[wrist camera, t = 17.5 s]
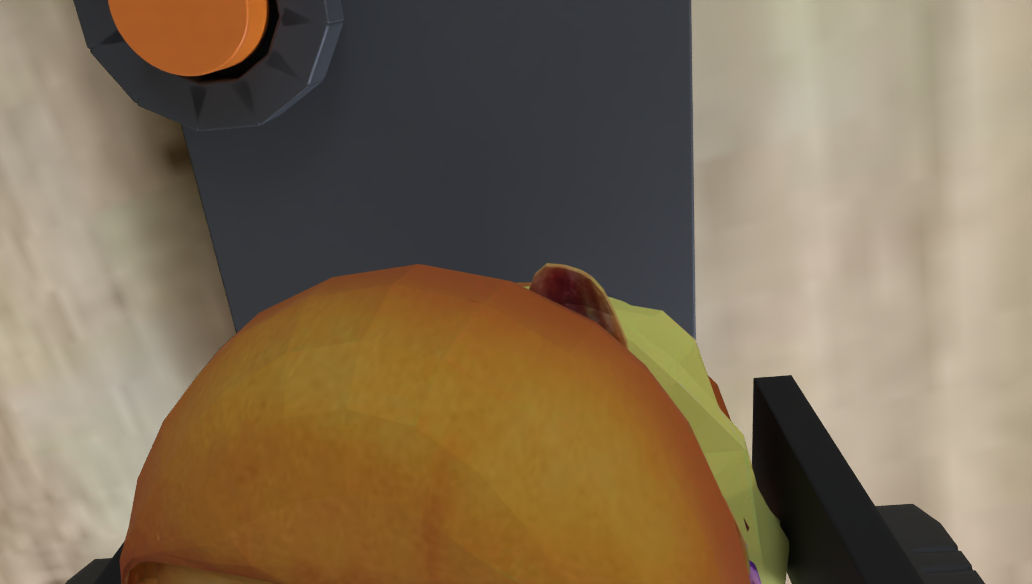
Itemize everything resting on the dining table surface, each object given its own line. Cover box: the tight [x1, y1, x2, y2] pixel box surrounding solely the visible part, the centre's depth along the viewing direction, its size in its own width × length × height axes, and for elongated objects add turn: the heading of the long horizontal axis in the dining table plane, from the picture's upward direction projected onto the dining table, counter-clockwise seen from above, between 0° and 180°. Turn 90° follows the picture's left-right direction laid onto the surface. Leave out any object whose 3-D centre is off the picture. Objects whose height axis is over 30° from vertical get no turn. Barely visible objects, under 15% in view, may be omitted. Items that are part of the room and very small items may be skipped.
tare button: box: [108, 0, 269, 76], centre depth 18 cm, size 3×3×2 cm
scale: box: [73, 0, 696, 341], centre depth 22 cm, size 19×15×4 cm
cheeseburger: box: [120, 263, 789, 584], centre depth 13 cm, size 10×11×10 cm
